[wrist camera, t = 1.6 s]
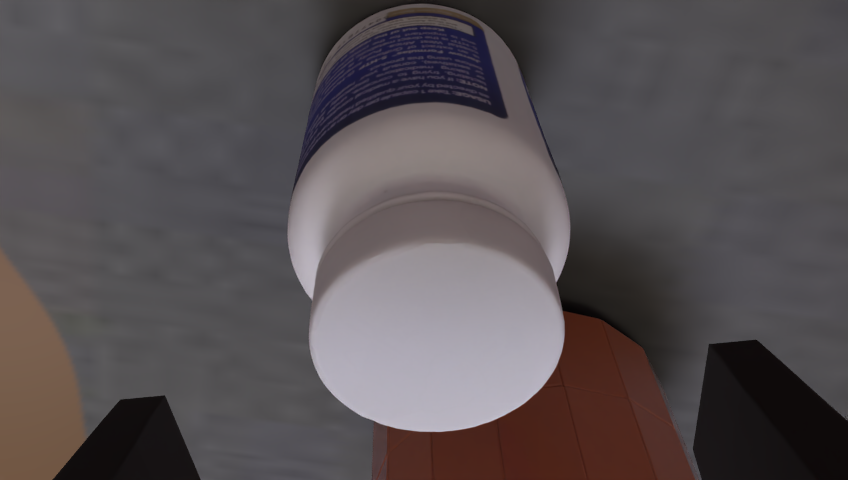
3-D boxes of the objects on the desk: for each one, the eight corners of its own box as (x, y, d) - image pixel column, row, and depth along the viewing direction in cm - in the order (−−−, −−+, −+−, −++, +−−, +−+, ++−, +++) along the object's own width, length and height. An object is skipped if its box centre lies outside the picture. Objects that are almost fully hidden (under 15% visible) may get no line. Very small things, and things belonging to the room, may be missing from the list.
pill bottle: (273, 114, 19) (191, 360, 11) (409, -50, 17) (418, 123, 9) (430, 228, 21) (447, 498, 14) (569, 96, 19) (679, 331, 11)
